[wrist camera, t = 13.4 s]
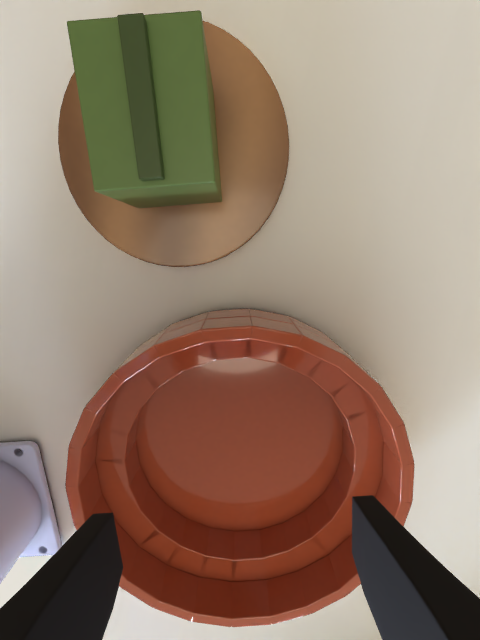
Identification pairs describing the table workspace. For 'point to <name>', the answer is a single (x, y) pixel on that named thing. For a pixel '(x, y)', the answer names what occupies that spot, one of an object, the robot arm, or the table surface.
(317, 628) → the table surface
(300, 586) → the bowl
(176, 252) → the coaster
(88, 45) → the green grooved block
